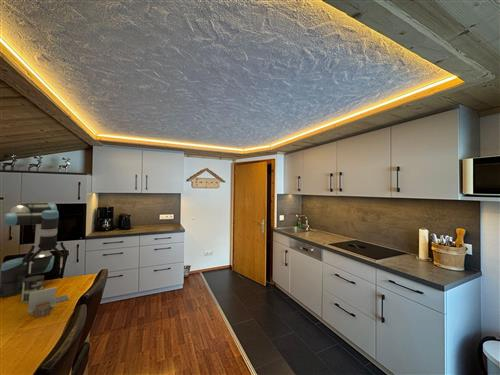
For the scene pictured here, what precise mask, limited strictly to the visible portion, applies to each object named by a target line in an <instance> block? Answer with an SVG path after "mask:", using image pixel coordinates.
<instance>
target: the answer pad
mask: <svg viewBox="0 0 500 375" xmlns="http://www.w3.org/2000/svg"><path fill="white" fill-rule="evenodd" d="M66 301H69V296H68V295H67V294H64V295H61V296H57V297H56V299H55V304H59V303H62V302H66Z"/></svg>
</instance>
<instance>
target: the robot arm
mask: <svg viewBox="0 0 500 375" xmlns="http://www.w3.org/2000/svg"><path fill="white" fill-rule="evenodd" d="M59 213H60V212H59V211H58V208H57V204H56V203H53V202H27V203H20V204H17V205H15V206H13V207H12V208H10V209H9V213H5V215H4V219H3V220H4V222H3V224H4V226H5V227H15V226H29V225H32V226H33V225H35V233H34V235H35V236H34V244H31V247H30V249H29V250H28V251H27V253H26V254H25V256H24V257H17V258H14V259H10V260H6V261H5V262H3V263H2V264H1V268H0V298H1V299H3V298H9V297H13V296H14V297H15V296H16V295H20V294H22V287H23V279H25V278H26V276H33V275H37V274H43V273H48V272H51V270H52V269H53V266H54V262H55V255H53V253H51V251H54V252H56V253H57V254H58V255H60V260H59V261H60V262H59V263H60V264H59V268H60V269H62V268H63V263H65V262H66V257H67V256H69V255H70V253H69V252H68V250H67V249H66V247H65V245H64V242H63V241H58V242H57V239H58V235H57V234H58V225H59V224H58V223H59V217H60V215H59ZM57 246H60V247H61V250H63V252H64V253H63V252H62V251H61V250H59V248H57ZM32 253H33V254H32ZM31 254H32V255H31ZM30 255H31V256H30Z"/></svg>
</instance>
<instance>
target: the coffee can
mask: <svg viewBox="0 0 500 375" xmlns="http://www.w3.org/2000/svg"><path fill="white" fill-rule="evenodd" d="M44 283H45V275H41V274H39V275H37V274H35V275H30V276H28V277H25V279H23V287H22V293H21V297H20V298H21V299H20V302H21V303H29V293H32V292H36V291H41V290H44Z"/></svg>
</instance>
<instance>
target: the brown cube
mask: <svg viewBox="0 0 500 375" xmlns="http://www.w3.org/2000/svg"><path fill="white" fill-rule="evenodd" d="M50 310H51V307H50V301H47V302H43V303H39V304H36V309H35V312H34V317H35V318H34V319H38V318H42V317H45V316H49V315H50V312H51V311H50Z"/></svg>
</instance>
